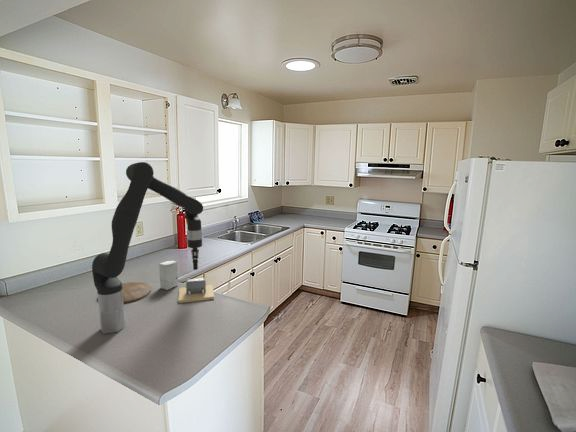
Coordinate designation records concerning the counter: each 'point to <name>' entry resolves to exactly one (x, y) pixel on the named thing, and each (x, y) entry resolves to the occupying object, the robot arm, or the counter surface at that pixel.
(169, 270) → the skincare box
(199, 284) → the grey rectangular block
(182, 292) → the yellow peg board
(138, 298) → the trivet
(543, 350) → the counter surface
